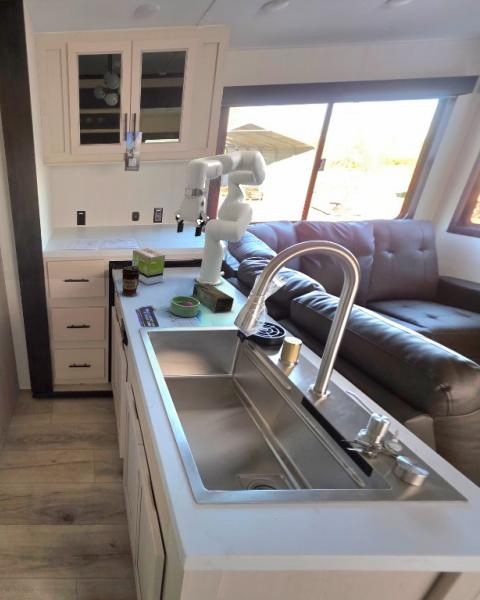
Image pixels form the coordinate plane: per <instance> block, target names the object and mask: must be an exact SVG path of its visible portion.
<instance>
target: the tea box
mask: <svg viewBox="0 0 480 600" xmlns="http://www.w3.org/2000/svg"><path fill="white" fill-rule="evenodd" d="M131 259H132V260H131V261H132V262H131V263H132V264H131V266H136V267H139V270H140V274H139V281H140V282H142V283H144V284H145V285H147V286H148V285H153V284H158V283H163V280H164V279H163V278H164V270H165V260H166V254H163V253H160V252H158V251H156V250H153V249H151V248H148V247H147V248H140V249H133V250H132V258H131Z"/></svg>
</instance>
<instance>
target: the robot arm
mask: <svg viewBox="0 0 480 600" xmlns="http://www.w3.org/2000/svg"><path fill="white" fill-rule="evenodd" d="M185 173H186V179H185V187H184V195H183V196H182V199H181V201H180V207H179V210H176V211H174V218H175V221H176V224H177V228H176V233H178V234H180V233H183V232H184V226H185V223H184V222H185V221H187V222H191V223H192V222H193V223H195V225H196V227H195V232H194V237H195V238H197V237H201V236H202V232H203V228H204V246H203V252H202V257H201V258H202V259H201V265H200V271H199V275H197V276H196V277H195V281H196V282H197V283H201V284H205V283H209V284H211V285H212V286H219V285H221V284H222V282H223V280H222V279H221V276H224V275H225V272H224V271H221V270H222V264H223V260H224V259H223V258H224V254H225V244H224V242H228V243H238V242H240V241H241V239H242V238H243V236H244V234H245V233H246V232H247V229H248V227H249V226H250V224H251V222H252V220H253V218H254V215H255V207H254V205H253V204H251V203H248V202H245V201H246V197H247V196H246V193H245V191H244V189H243V187H242V186H251V187H252V186H253V187H254V186H255V187H258V186H262V185H263V184H264V183H265V182H266V180H267V178H268V169H267V165H266V162H265V160H264V157H263V155H262V154H261V152H260V151H259V150H254V149H253V150H252V149H251V150H234V151H231V152H227V153H224V154H216V155H211V156H206V157H199V158H195V159H192V160H190V161H189V162H188V164H187V165H186V171H185ZM223 175H224V176H225V175H228V176H227V190H228V191H227V194H226V197H225V198H224V200H223V202H222V203H221V205H220V207H219V209H218V211H217V218H213V219H210V217H209V216H208V215H207V213H206V197H205V195H206V193H207V191H206V190H205V189H206V180H215V179H218V178H219V177H220V176H223Z"/></svg>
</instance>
